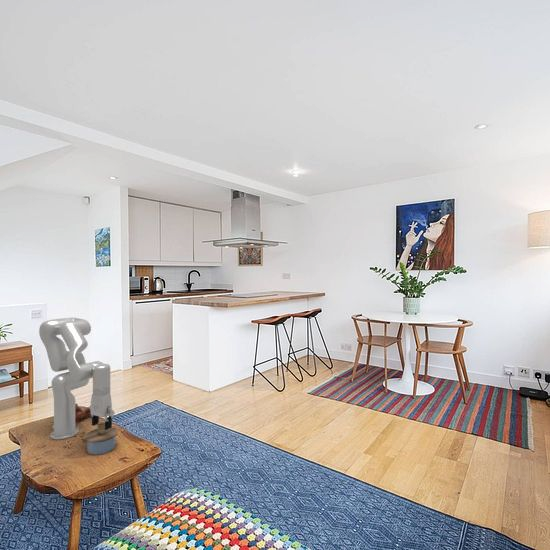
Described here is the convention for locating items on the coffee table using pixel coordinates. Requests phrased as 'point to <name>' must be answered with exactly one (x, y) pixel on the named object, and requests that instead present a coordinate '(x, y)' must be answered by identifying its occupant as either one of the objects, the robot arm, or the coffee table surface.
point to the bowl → (101, 446)
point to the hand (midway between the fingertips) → (101, 426)
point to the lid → (101, 434)
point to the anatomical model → (81, 412)
